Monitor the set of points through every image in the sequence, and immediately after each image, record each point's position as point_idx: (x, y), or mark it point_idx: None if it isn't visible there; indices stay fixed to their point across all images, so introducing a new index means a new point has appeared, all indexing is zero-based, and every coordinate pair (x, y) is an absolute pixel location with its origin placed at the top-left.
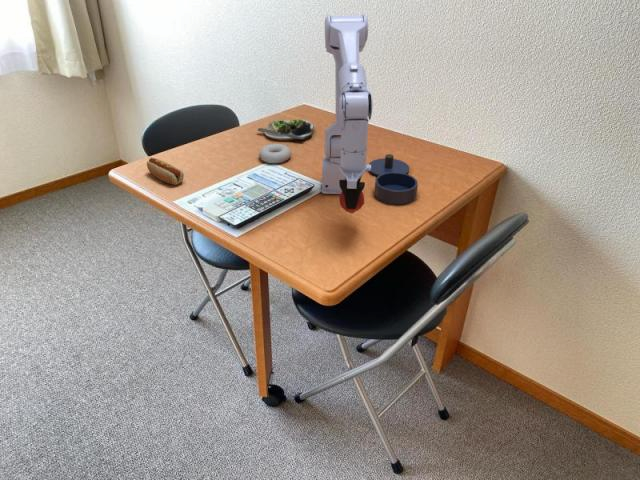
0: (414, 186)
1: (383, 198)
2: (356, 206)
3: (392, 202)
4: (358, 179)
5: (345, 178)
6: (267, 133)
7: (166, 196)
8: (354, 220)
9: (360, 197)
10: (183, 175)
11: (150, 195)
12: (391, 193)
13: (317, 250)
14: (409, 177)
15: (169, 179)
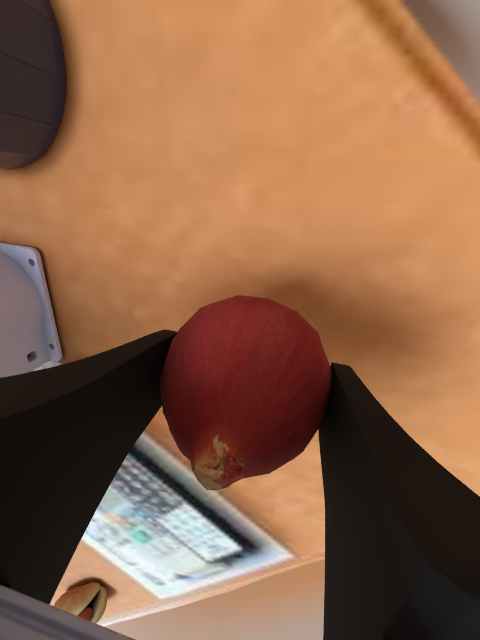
0: None
1: (42, 126)
2: (354, 372)
3: (57, 74)
4: (96, 395)
5: (108, 484)
6: None
7: (144, 601)
8: (212, 277)
9: (298, 362)
10: (83, 596)
11: (145, 614)
12: (8, 65)
13: (398, 421)
14: None
15: (103, 612)
